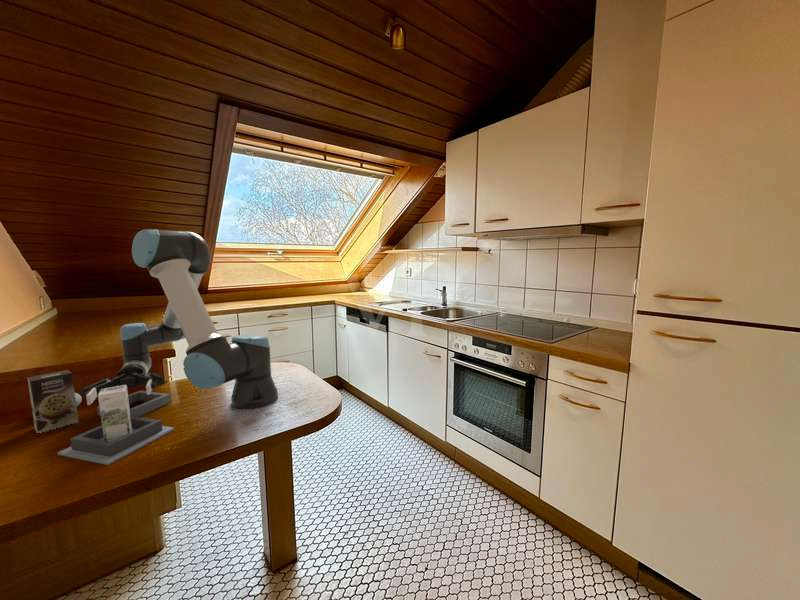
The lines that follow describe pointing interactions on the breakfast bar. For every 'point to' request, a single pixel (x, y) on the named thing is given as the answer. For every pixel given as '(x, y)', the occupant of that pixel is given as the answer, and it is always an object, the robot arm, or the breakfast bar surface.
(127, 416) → the syrup box
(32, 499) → the breakfast bar surface
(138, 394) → the gray open tray
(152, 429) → the gray flanged tray
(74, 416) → the dessert mix box
